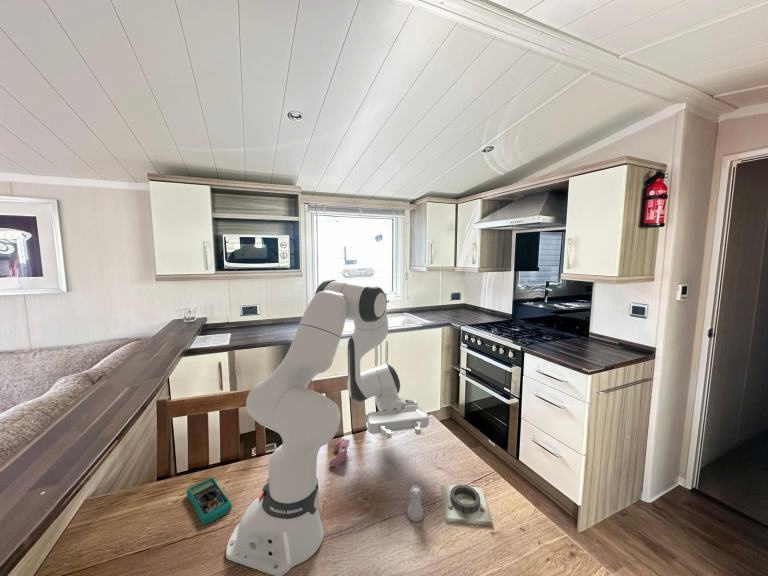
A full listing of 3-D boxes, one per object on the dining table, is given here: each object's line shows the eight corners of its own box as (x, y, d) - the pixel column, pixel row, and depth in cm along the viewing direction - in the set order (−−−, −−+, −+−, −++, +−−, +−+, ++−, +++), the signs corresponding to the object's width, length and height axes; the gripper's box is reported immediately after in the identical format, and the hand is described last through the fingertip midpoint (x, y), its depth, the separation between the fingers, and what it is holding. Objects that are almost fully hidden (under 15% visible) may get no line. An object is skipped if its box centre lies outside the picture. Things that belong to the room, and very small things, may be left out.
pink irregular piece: (340, 472, 102) (349, 455, 102) (327, 466, 102) (337, 449, 102) (344, 453, 112) (352, 437, 112) (332, 447, 112) (341, 431, 111)
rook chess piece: (403, 515, 84) (404, 488, 83) (413, 506, 88) (414, 479, 87) (416, 525, 81) (417, 497, 80) (426, 515, 84) (427, 488, 84)
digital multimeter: (203, 528, 80) (203, 518, 80) (186, 497, 90) (185, 487, 90) (233, 511, 85) (232, 501, 85) (213, 483, 95) (213, 474, 95)
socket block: (445, 521, 83) (445, 511, 82) (441, 487, 95) (441, 478, 94) (491, 525, 82) (492, 515, 81) (481, 490, 94) (482, 481, 93)
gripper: (363, 405, 105) (370, 428, 92) (420, 400, 110) (435, 421, 96) (363, 423, 106) (370, 448, 93) (420, 416, 110) (435, 440, 97)
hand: (404, 434), depth 94 cm, fingers open, 8 cm apart
